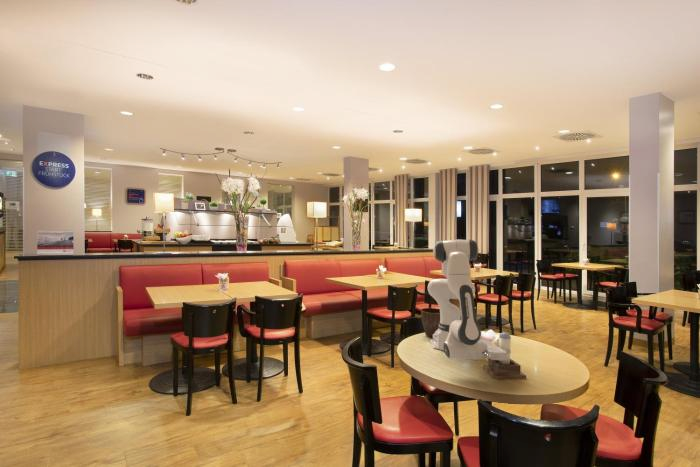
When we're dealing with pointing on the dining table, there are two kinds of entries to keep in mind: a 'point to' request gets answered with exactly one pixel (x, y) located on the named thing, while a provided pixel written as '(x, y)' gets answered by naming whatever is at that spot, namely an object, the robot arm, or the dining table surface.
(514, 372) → the cradle
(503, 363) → the white bottle
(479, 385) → the dining table surface
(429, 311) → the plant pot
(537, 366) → the dining table surface
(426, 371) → the dining table surface
